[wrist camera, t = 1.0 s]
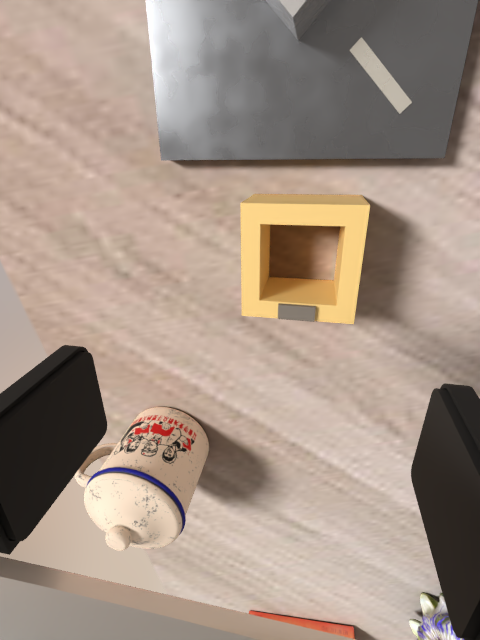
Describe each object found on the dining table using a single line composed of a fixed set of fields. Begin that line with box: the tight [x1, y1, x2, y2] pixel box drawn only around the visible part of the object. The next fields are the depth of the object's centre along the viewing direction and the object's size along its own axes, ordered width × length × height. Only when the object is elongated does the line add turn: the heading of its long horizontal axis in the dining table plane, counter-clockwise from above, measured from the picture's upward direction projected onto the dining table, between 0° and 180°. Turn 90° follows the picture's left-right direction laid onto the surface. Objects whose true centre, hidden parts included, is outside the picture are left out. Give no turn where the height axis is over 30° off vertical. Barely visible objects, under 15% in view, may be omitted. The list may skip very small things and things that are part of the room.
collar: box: [241, 194, 370, 324], centre depth 24 cm, size 7×7×5 cm
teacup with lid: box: [75, 407, 209, 551], centre depth 33 cm, size 12×9×12 cm
